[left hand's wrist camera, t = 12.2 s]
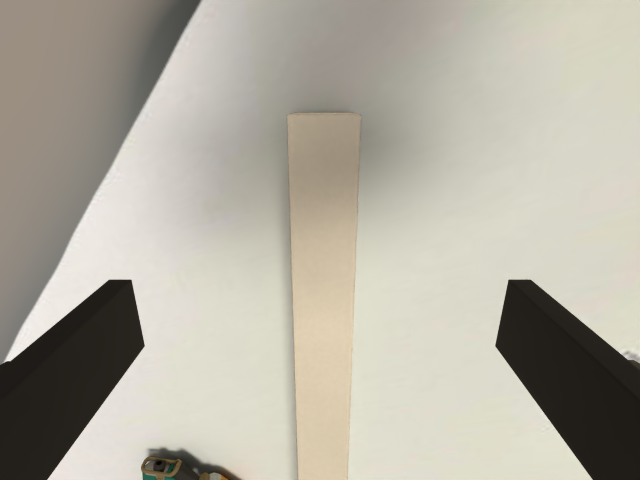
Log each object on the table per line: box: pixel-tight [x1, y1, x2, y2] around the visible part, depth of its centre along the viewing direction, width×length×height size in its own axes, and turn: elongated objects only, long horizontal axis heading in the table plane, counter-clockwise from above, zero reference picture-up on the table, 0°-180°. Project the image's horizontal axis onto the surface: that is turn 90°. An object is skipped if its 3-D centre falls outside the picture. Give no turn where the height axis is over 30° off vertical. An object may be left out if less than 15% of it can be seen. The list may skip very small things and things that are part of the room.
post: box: [287, 113, 361, 480], centre depth 41 cm, size 72×5×8 cm, turn 0°
